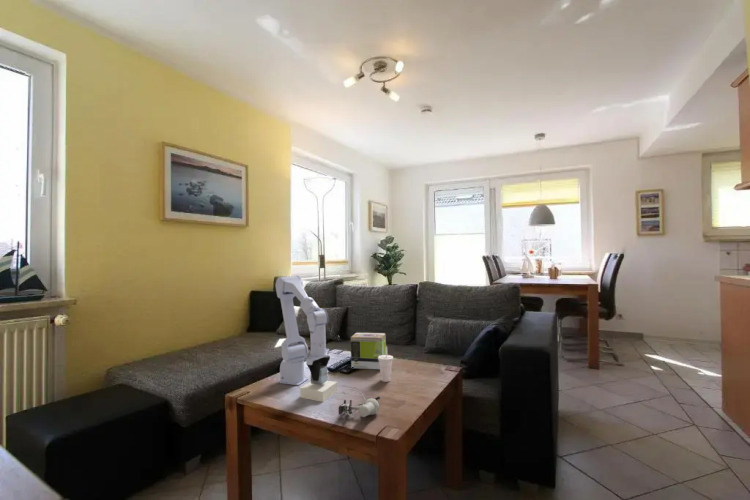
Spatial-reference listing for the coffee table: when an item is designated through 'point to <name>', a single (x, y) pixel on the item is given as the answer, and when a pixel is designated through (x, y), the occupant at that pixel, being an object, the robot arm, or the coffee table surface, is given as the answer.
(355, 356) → the tea box
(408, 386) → the coffee table surface
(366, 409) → the clip-on lamp
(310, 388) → the base box
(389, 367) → the smoothie
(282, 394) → the coffee table surface
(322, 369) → the block
